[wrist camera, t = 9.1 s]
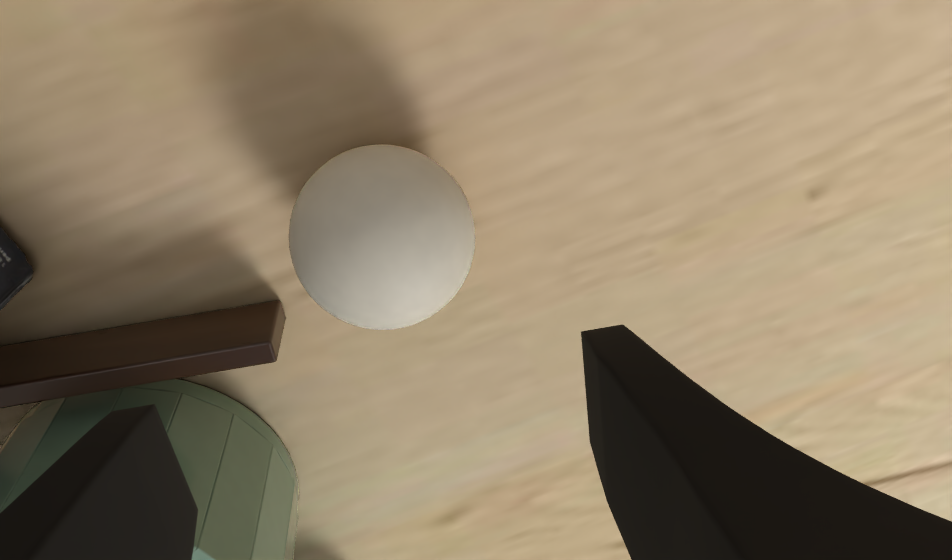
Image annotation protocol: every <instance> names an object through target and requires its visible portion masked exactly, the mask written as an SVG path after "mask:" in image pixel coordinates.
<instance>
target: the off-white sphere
mask: <svg viewBox="0 0 952 560" xmlns="http://www.w3.org/2000/svg"><path fill="white" fill-rule="evenodd" d="M289 248H290V253H291V258H292V263H293V266H294V268H295V271H296V274H297V276H298V278H299V280H300V281H301V283H302V285H303V287H304V288H305V289H306V291H307V292H308V294H309V295H310V296H311V297H312V298H313V300H314V301H315V302H316V303H317V304H318V305H320V306H321V307H322V308H323V309H324V310H326V311H327V312H328V313H330V314H331V315H333V316H335V317H336V318H338V319H340V320H342V321H344V322H346V323H349V324H351V325H354V326H358V327H362V328H366V329H375V330H390V329H399V328H403V327H408V326H411V325H414V324H417V323H419V322H421V321H423V320H425V319H427V318H429V317H431V316H432V315H434V314H435V313H437V312H438V311H439V310H441V309H442V308H443V307H444V306H445V305H447V304H448V303H449V301H450V300H451V299H452V298H453V297H454V296H455V295H456V293H457V292H458V290H459V289H460V288H461V286H462V284H463V282H464V281H465V279H466V277H467V275H468V272H469V270H470V267H471V264H472V259H473V255H474V250H475V227H474V220H473V215H472V211H471V209H470V206H469V203H468V201H467V198H466V196H465V195H464V193H463V191H462V189H461V187H460V186H459V185H458V183H457V182H456V181H455V179H454V178H453V177H452V176H451V175H450V174H449V173H448V172H447V171H446V170H445V169H444V168H443V167H442V166H441V165H439V164H438V163H437V162H436V161H434V160H433V159H431V158H429V157H428V156H426V155H424V154H422V153H420V152H417V151H415V150H412V149H409V148H405V147H401V146H395V145H381V144H377V145H367V146H362V147H358V148H354V149H351V150H348V151H346V152H343V153H341V154H339V155H337V156H335V157H333V158H332V159H330V160H329V161H328V162H326V163H325V164H323V165H322V166H321V167H320V168H319V169H318V170H317V171H316V172H315V173H314V174H313V175H312V176H311V177H310V178H309V180H308V181H307V182H306V183H305V185H304V187H303V188H302V190H301V192H300V193H299V195H298V198H297V200H296V202H295V205H294V207H293V210H292V214H291V219H290V227H289Z"/></svg>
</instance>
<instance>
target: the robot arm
mask: <svg viewBox="0 0 952 560" xmlns="http://www.w3.org/2000/svg"><path fill="white" fill-rule="evenodd" d="M581 337H582V349H583V361H584V374H585V386H586V399H587V411H588V424H589V436H590V444H591V447H592V451H593V454H594V458H595V461H596V465H597V468H598V472H599V475H600V479H601V482H602V485H603V489H604V492H605V496H606V499H607V502H608V504H609V507H610V509H611V512H612V514H613V517H614V519H615V521H616V524H617V526H618V528H619V531H620V533H621V536H622V538H623V540H624V543H625V545H626V547H627V550H628V552H629V554H630V557H631V559H632V560H952V522H951V521H949V520H946V519H944V518H941V517H939V516H936V515H934V514H931V513H928V512H926V511H923V510H921V509H919V508H916V507H914V506H912V505H910V504H907V503H905V502H903V501H901V500H898V499H896V498H894V497H891V496H889V495H887V494H885V493H882V492H880V491H878V490H876V489H873V488H871V487H869V486H867V485H865V484H863V483H860V482H858V481H856V480H854V479H852V478H850V477H848V476H846V475H844V474H842V473H840V472H838V471H836V470H834V469H832V468H830V467H829V466H827V465H825V464H823V463H821V462H819V461H817V460H816V459H814V458H812V457H810V456H808V455H806V454H804V453H802V452H801V451H799V450H797V449H795V448H793V447H791V446H790V445H788V444H786V443H785V442H783V441H781V440H780V439H778V438H776V437H774V436H773V435H771V434H769V433H768V432H766V431H765V430H763V429H762V428H760V427H759V426H757V425H755V424H754V423H752V422H751V421H749V420H748V419H746V418H745V417H743V416H741V415H740V414H738V413H737V412H735V411H734V410H732V409H731V408H730V407H728V406H727V405H725V404H724V403H722V402H721V401H720V400H718V399H717V398H716V397H714V396H713V395H712V394H710V393H709V392H707V391H706V390H705V389H703V388H702V387H701V386H699V385H698V384H697V383H695V382H694V381H693V380H691V379H690V378H689V377H687V376H686V375H685V374H684V373H682V372H681V371H680V370H678V369H677V368H676V367H675V366H673V365H672V364H671V363H670V362H668V361H667V360H666V359H665V358H663V357H662V356H661V355H660V354H659V353H657V352H656V351H655V350H654V349H652V348H651V347H650V346H649V345H648V344H646V343H645V342H644V341H643V340H642V339H640V338H639V337H638V336H637V335H635V334H634V333H633V332H632V331H631V330H629V329H628V328H627V327H625V326H624V325H617V326H611V327H605V328H599V329H594V330H588V331H582V332H581ZM197 516H198V508H197V505H196V503H195V501H194V498H193V496H192V493H191V491H190V488H189V486H188V484H187V481H186V479H185V476H184V474H183V471H182V469H181V467H180V464H179V462H178V459H177V457H176V454H175V452H174V450H173V447H172V445H171V442H170V440H169V437H168V435H167V433H166V430H165V428H164V425H163V423H162V420H161V418H160V416H159V413H158V411H157V408H156V406H155V404H151V405H145V406H140V407H134V408H128V409H122V410H116V411H112V412H110V413H109V414H108V415H107V416H105V417H104V418H103V419H102V420H100V421H99V422H98V423H97V424H96V425H95V426H93V427H92V428H91V429H90V430H89V431H88V432H87V433H86V434H85V435H83V436H82V437H81V438H80V439H79V440H78V441H77V442H76V443H75V444H74V445H73V446H72V447H71V448H69V449H68V450H67V451H66V452H65V453H64V454H63V455H62V456H61V457H60V458H59V459H58V460H57V461H56V462H55V463H54V464H52V465H51V466H50V467H49V468H48V469H47V470H46V471H45V472H44V473H43V474H42V475H41V476H40V477H39V478H38V479H36V480H35V481H34V482H33V483H32V484H31V485H30V486H29V487H28V488H27V489H26V490H25V491H24V492H23V493H21V494H20V495H19V496H18V497H17V498H16V499H15V500H14V501H13V502H12V503H11V504H10V505H9V506H7V507H6V508H5V509H4V510H3V511H2V512H1V513H0V560H192V554H193V548H194V540H195V532H196V524H197Z"/></svg>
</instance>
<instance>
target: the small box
mask: <svg viewBox="0 0 952 560" xmlns="http://www.w3.org/2000/svg"><path fill="white" fill-rule="evenodd" d="M32 275H33V269H32V266H31V265H30V264H29V263H28V262H27V260H26V257H25V254H24V253H23V252H22V251H21V250H20V249H19V248H18V247H17V245H16V244H15V242H14V241H12V240H11V239H10V238H9V237H8V235H7V234H6V233H5V232H4V230H3V229H2V228H1V226H0V310H1V309H3V308H4V307H5V306H6V304H7V303H8V302H9V301H10V300H11V299H12V298H13V297H14V296H15V295H16V294H17V293H18V292H19V291H20V290H21V289H22V288H23V287H24V286H25V285H26V284H27V283H29V282H30V281H31V279H32Z"/></svg>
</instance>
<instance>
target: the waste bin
mask: <svg viewBox="0 0 952 560" xmlns="http://www.w3.org/2000/svg"><path fill="white" fill-rule="evenodd" d="M151 404H155V406H156V408H157V411H158V413H159V416H160V418H161V420H162V423H163V425H164V428H165V430H166V433H167V435H168V437H169V440H170V442H171V445H172V447H173V450H174V452H175V454H176V457H177V459H178V462H179V464H180V467H181V469H182V471H183V474H184V476H185V479H186V481H187V484H188V486H189V488H190V491H191V493H192V496H193V498H194V501H195V503H196V505H197V508H198V516H197V524H196V532H195V540H194V548H193V554H192V560H293V556H294V548H295V540H296V533H297V525H298V510H297V509H298V500H299V487H298V479H297V475H296V470H295V467H294V465H293V462H292V460H291V457H290V455H289V453H288V451H287V450H286V448H285V446H284V445H283V443H282V442H281V440H280V439H279V438H278V436H277V435H276V434H275V433H274V432H273V430H272V429H271V428H270V427H269V426H268V425H267V424H266V423H265V422H264V421H263V420H262V419H260V418H259V417H258V416H257V415H256V414H255V413H253V412H252V411H250V410H249V409H248V408H246V407H245V406H243V405H242V404H240V403H239V402H237V401H235V400H233V399H231V398H230V397H228V396H226V395H224V394H222V393H219V392H217V391H214V390H212V389H210V388H207V387H205V386H201V385H198V384H195V383H191V382H188V381H184V380H179V379H171V380H165V381H159V382H153V383H147V384H141V385H135V386H129V387H124V388H118V389H112V390H106V391H100V392H94V393H88V394H82V395H76V396H70V397H64V398H58V399H52V400H47V401H42V402H41V403H39V404H38V405H37V406H35V407H34V408H33V409H31V410H30V411H29V412H28V413H27V414H26V415H25V416H24V417H23V418H22V419H21V420H20V422H19V423H18V424H17V426H16V427H15V428H14V430H13V431H12V432H11V434H10V436H9V437H8V439H7V440H6V442H5V443H4V444H3V445H2V447H1V448H0V513H1V512H2V511H3V510H4V509H5V508H6V507H7V506H9V505H10V504H11V503H12V502H13V501H14V500H15V499H16V498H17V497H18V496H19V495H20V494H21V493H23V492H24V491H25V490H26V489H27V488H28V487H29V486H30V485H31V484H32V483H33V482H34V481H35V480H36V479H38V478H39V477H40V476H41V475H42V474H43V473H44V472H45V471H46V470H47V469H48V468H49V467H50V466H51V465H52V464H54V463H55V462H56V461H57V460H58V459H59V458H60V457H61V456H62V455H63V454H64V453H65V452H66V451H67V450H68V449H69V448H71V447H72V446H73V445H74V444H75V443H76V442H77V441H78V440H79V439H80V438H81V437H82V436H83V435H85V434H86V433H87V432H88V431H89V430H90V429H91V428H92V427H93V426H95V425H96V424H97V423H98V422H99V421H100V420H102V419H103V418H104V417H105V416H107V415H108V414H109V413H110V412H112V411H116V410H122V409H128V408H134V407H140V406H145V405H151Z"/></svg>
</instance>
